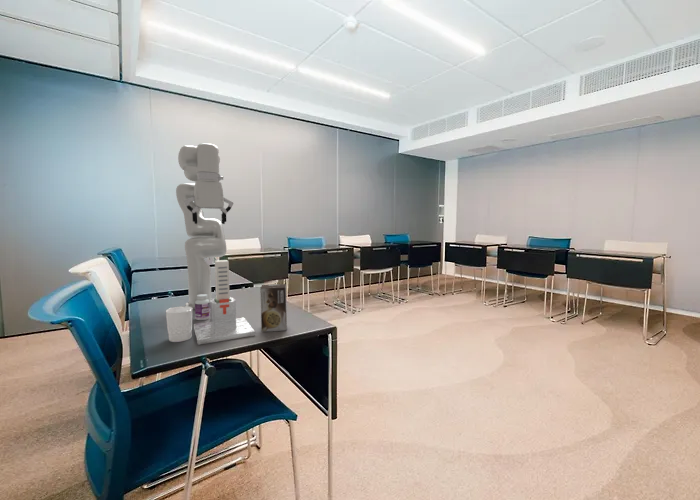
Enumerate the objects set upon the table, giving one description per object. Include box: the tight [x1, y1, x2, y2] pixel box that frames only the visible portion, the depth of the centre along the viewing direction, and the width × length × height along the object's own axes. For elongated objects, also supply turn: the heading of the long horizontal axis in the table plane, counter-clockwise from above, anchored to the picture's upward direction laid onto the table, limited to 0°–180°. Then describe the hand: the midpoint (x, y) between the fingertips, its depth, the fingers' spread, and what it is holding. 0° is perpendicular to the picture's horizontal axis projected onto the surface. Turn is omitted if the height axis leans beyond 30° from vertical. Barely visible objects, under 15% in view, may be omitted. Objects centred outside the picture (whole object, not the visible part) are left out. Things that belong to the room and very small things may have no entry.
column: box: [214, 259, 231, 303], centre depth 113 cm, size 4×4×18 cm
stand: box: [193, 296, 256, 346], centre depth 114 cm, size 18×18×12 cm
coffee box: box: [259, 283, 288, 333], centre depth 118 cm, size 9×6×16 cm
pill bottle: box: [194, 294, 210, 321], centre depth 129 cm, size 5×5×10 cm
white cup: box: [165, 305, 194, 343], centre depth 107 cm, size 8×8×10 cm
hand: (209, 223), depth 122 cm, fingers open, 9 cm apart
